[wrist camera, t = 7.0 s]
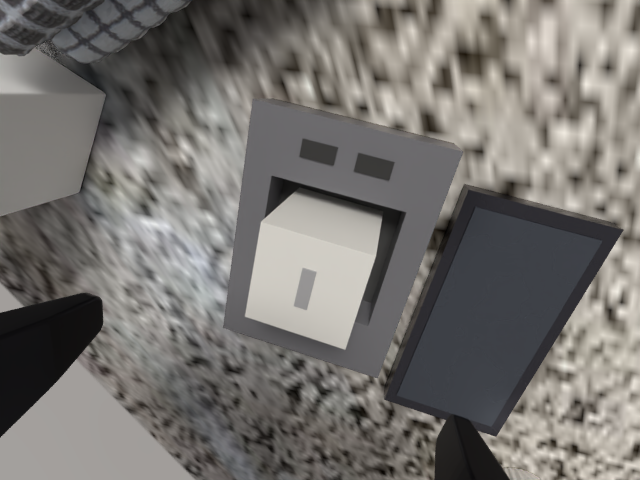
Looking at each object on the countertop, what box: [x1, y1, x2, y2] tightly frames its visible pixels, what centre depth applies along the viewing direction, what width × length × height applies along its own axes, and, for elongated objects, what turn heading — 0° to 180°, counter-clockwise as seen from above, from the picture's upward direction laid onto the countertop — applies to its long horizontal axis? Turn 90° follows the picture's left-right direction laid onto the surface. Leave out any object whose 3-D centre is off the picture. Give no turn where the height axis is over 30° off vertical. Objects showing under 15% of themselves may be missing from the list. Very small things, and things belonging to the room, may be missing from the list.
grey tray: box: [223, 99, 463, 378], centre depth 16 cm, size 11×8×2 cm
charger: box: [245, 187, 383, 350], centre depth 15 cm, size 4×4×5 cm
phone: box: [384, 184, 623, 436], centre depth 17 cm, size 12×6×1 cm, turn 168°
